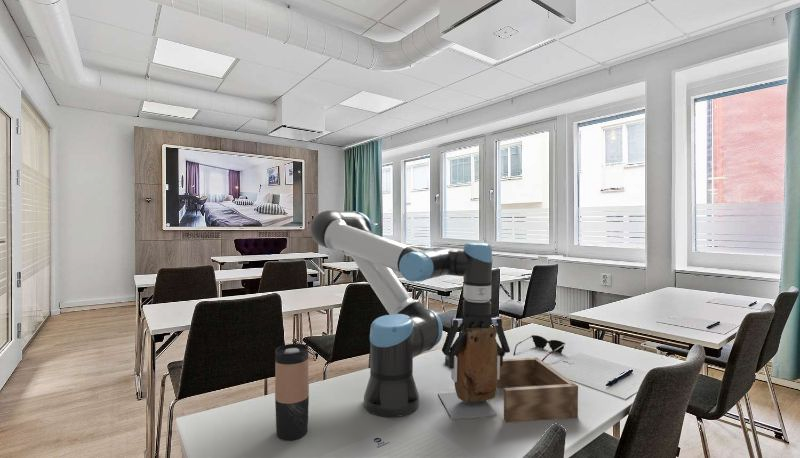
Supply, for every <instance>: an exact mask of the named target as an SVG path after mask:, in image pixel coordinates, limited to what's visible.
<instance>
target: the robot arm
mask: <svg viewBox="0 0 800 458" xmlns="http://www.w3.org/2000/svg"><path fill="white" fill-rule="evenodd" d="M309 232H310V233H309V234H310V236H311V238H312V240H313V241H314V242H315V243H316V244H318V245H319V246H321V247H324V248H327V249H329V250H331V251H336V250H341V251H342V253H343V254H344V255H345V256H346V257H351V258H352V260H353V261H354V263H355V264H356V266H357V268H358V269H359V271H360V272H361V274H362V275H363V276H364V279H365V280H366V281H367V282H368V285H370V287H371V289H372V290H373V292H374V293H375V294H376V296H377V298H378V299H379V300H380V302H381V304H382V305H383V307H384V308H385V311H387V313H388V314H385V315H382V316H379V317H377V318H375V319H374V320H373V321H372V323H371V324H370V330H369V331H370V332H369V359H370V360H369V369H370V371H369V373H370V374H369V375H370V376H369V379H368V383H367V385H366V388H365V392H364V395H363V407H364V409H365V410H366V411H367V412H369V413H370V414H373V415H375V416H378V417H386V418H392V417H393V418H394V417H396V418H397V417H403V416H406V415H410V414H412V413H413V412H415V411H416V410H417V409H418V408H419V406H420V395H419V392H418V388H417V385H416V381H415V378H414V375H413V373H414V372H413V371H414V369H413V368H414V367H413V366H414V364H413V363H414V362H413V361H414V358H415V357H418V356H419V355H421V354H423V353H425V352H428V351H431V350H432V349H433V348H435V347H436V346H437V345H438V344H439V342H440V341H441V339H442V336H443V329H444V328H443V323H442V320H441V318H440V316H439V315H438V314H437V313H436V312H435V311H434V310H431V309H428V308H425V306H424V305H423V304H422V302H421V301H420V299H419V300H418V299H414V298H412V296H411V295H410V294H409V292H408V291H407V289H406V287H405V286H404V285H403V284H402V282H401V281H400V279H399V278H398V277H397V274H395V272H398V273H400V275H402V276H403V278H404V279H405V280H406V281H408V282H417V283H420V282H424V281H427V280H429V279H433V278H438V277H443V276H456V277H463V278H462V279H463V289H462V290H463V291H462V293H463V295H462V297H463V298H464V299H463V300H462V317H461V318H455V317H452V318H451V319H450V328H449V329H448V333H447V335H446V338H445V340H444V342H443V346H442V348H441V352H442V354H443V355H444V356H446V355H447V356H448V365H447V366H448V367H449V369H450V370H451V373H450V375H451V380H452V381H453V382H454V383H455V382H457V357H456V356H455V355H456V353H457V352H458V350H459V349H460V347H461V346H462V345H463V343H464V342H465V340H466V339H467V337H466V336H467V331H469V329H470V328H476V327H482V328H488V327H489V326H492V325H493V326H494V328H495V330H496V333H497V334H496V336H497V337H498V341H499V343H500V344H499V343H498V342H497V380H499V379H500V366H502V365H503V359H504V357H505V356H506V354H507V353H508V354H509V353H510V352H511V349H510V346H509V343H508V340H507V338H506V335H505V332H504V329H503V319H501V318H500V317H499V316H494V317H492V316H491V315H492V302H491V299H492V279H493V278H492V277H493V275H492V273H493V272H492V271H493V249H492V248H493V247H492V245H491V244H489V243H487V242H467V243H464V246H463V249H456V248H455V249H454V248H444V247H443V248H442V247H429V248H427V250H423V249H420V248H416V247H412V246H410V245H408V244H405V243H401V242H399V241H396V240H393V239H390V238H386V237H384V236H381V235H378V234H374V233H373V224H372V221H371V219H370V218H369V217H368V216H367V215H366V214H365V213H362V212H359V211H355V210H325V211H321V212H320V213H317V215H315V216H314V217H313V219H312V220H311V222H310V226H309ZM394 271H395V272H394ZM461 324H462V327H463V326H464V327H465V328H469V329H468V330H467V331H466V332H465V331H464V329H463V328H462V329H461V330H460V333H459V335H458V336H457V332H458V329H459V327H460V326H461ZM456 336H457V337H456ZM455 338H456V339H455ZM500 345H501V346H500Z"/></svg>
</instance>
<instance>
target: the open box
mask: <svg viewBox="0 0 800 458" xmlns="http://www.w3.org/2000/svg"><path fill="white" fill-rule="evenodd" d="M499 388H502V389H503V421H504V422H505V423H506V424H507V423H517V422H519V423H521V422H531V421H544V420H556V419H557V420H560V419H569V418H571V419H572V418H579V385H578V384H576V383H574V382H573V381H572V380H570V379H569V378H567V377H566V375H565V376H564V375H563V374H562V373H560V372H559V371H557V370H556V369H554V368H553V367H551V366H550V365H548V364H547V363H546V362H545V361H544V360H543V361H542V359H541V358H539V357H523V358H521V357H519V358H505V359H504V358H503V365H502V366H500V379H499V380H497V388H496V389H499Z"/></svg>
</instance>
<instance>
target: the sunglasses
mask: <svg viewBox="0 0 800 458" xmlns="http://www.w3.org/2000/svg"><path fill="white" fill-rule="evenodd" d="M531 338H532V343H533V342H534V343H533V344H534V346H535V347H536V348H539V349H540V348H541V349H544V348H545V347H546V346H547V344H548V346H549V348H551V351H550V352H549V353H547V354H546V355H544V356H545V357H543V358H542V359H541V360H542V361H543V362H544V360H546V358H548V357H549V356H550V355H551V354H553V353H554V352H556V353H559V354H562V353H563V350H564V349H565V345H566V342H563V341H561V340H559V339H558V340H557V339H550V340H547V339H546V338H545V337H543V336H540V335H534V334H532V335H530V336H528V337H527V338H525V339H523V340H522V341H519V342H518V343H516V344H515V347H514V351H513V356H515V355H516V350H517V347H518V345H519V344H522V343H523V342H525V341H526V340H529V339H531Z"/></svg>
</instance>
